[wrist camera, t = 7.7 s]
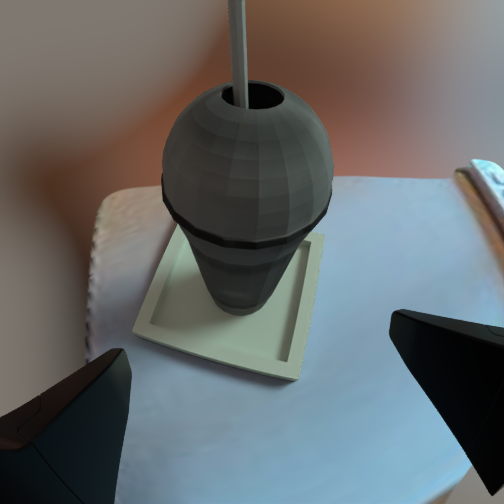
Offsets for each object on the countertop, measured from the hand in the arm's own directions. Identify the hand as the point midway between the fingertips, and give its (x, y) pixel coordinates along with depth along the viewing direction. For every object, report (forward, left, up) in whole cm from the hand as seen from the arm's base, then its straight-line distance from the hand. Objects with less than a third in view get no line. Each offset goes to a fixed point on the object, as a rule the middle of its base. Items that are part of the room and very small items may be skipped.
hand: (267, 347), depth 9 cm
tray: (+7, +3, -12) cm, 14 cm away
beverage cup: (+7, +2, -11) cm, 13 cm away
